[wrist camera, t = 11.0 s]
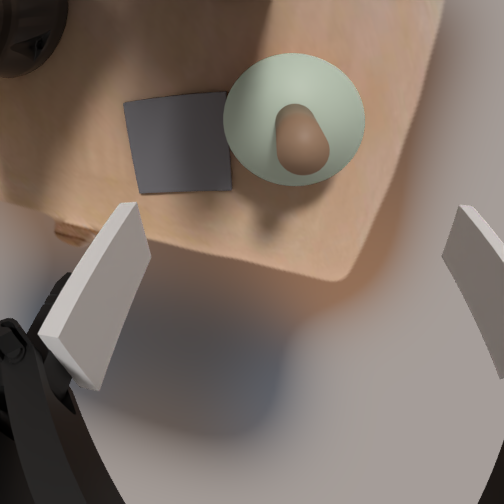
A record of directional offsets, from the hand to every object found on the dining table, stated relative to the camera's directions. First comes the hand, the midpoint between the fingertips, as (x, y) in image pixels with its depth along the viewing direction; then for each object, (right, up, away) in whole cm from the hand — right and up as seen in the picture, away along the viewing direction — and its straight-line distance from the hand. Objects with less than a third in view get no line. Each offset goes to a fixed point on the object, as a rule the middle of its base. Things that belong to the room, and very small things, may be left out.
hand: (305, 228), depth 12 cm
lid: (+2, +12, +16) cm, 20 cm away
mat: (-11, +12, +23) cm, 28 cm away
